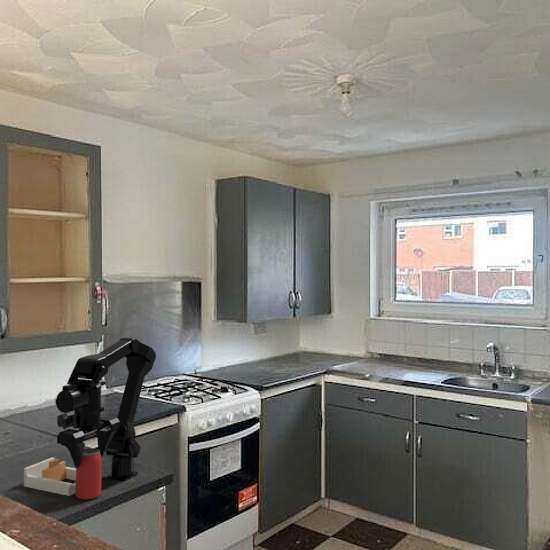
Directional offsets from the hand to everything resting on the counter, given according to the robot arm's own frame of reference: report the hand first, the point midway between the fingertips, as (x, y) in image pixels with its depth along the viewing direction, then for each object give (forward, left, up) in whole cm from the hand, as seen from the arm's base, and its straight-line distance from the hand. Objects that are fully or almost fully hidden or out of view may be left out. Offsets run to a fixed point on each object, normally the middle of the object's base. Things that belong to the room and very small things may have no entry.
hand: (89, 461), depth 153 cm
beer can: (0, 0, -9) cm, 9 cm away
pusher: (-3, -15, -9) cm, 18 cm away
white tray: (-3, -13, -9) cm, 16 cm away
